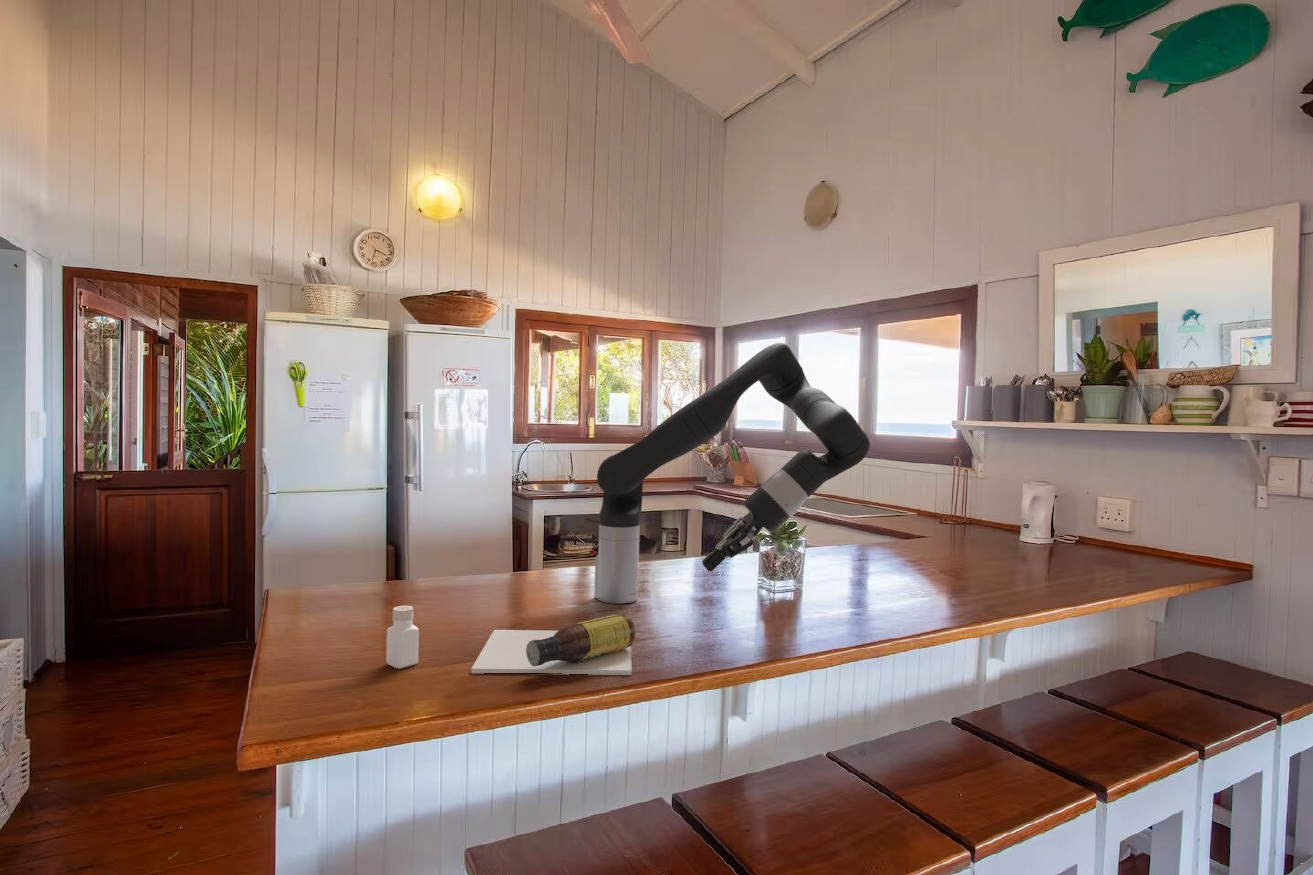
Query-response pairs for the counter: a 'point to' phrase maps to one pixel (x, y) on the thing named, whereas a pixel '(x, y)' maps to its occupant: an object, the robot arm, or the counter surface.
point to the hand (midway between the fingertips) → (705, 567)
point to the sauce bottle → (583, 640)
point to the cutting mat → (510, 657)
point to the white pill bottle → (402, 639)
